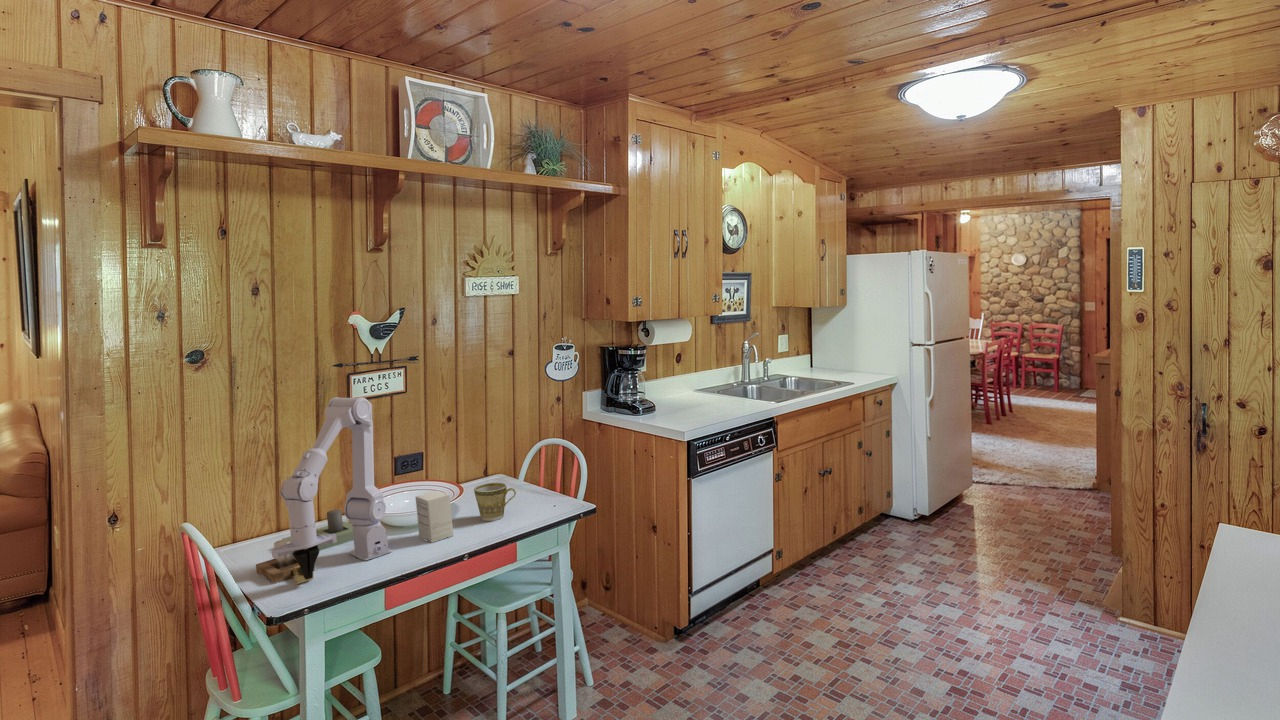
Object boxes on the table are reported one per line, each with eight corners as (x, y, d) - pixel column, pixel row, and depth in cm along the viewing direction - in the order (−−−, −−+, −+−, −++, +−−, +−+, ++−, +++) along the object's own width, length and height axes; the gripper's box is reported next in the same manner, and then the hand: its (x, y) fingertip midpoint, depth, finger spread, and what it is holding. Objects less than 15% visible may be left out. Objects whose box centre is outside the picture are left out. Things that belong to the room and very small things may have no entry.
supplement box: (441, 530, 211) (437, 489, 209) (454, 536, 205) (450, 494, 204) (418, 538, 205) (414, 495, 204) (430, 543, 200) (427, 500, 199)
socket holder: (314, 570, 185) (313, 562, 184) (274, 583, 177) (273, 575, 177) (295, 560, 193) (294, 552, 192) (256, 572, 185) (255, 564, 185)
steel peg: (296, 570, 185) (293, 541, 184) (280, 575, 182) (277, 546, 181) (290, 567, 188) (287, 538, 187) (274, 572, 185) (271, 542, 184)
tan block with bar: (313, 578, 178) (312, 563, 177) (297, 584, 175) (295, 568, 174) (299, 570, 184) (298, 555, 183) (283, 575, 181) (282, 560, 180)
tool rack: (362, 537, 209) (359, 510, 208) (300, 556, 195) (297, 528, 195) (343, 529, 217) (341, 503, 216) (282, 547, 203) (280, 520, 203)
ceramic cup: (471, 523, 216) (469, 491, 215) (482, 512, 226) (480, 482, 225) (512, 523, 214) (510, 491, 213) (521, 512, 224) (519, 481, 223)
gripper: (328, 513, 181) (333, 564, 183) (266, 528, 172) (272, 582, 173) (337, 519, 176) (342, 572, 177) (273, 535, 167) (279, 590, 168)
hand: (308, 577), depth 175 cm, fingers closed
